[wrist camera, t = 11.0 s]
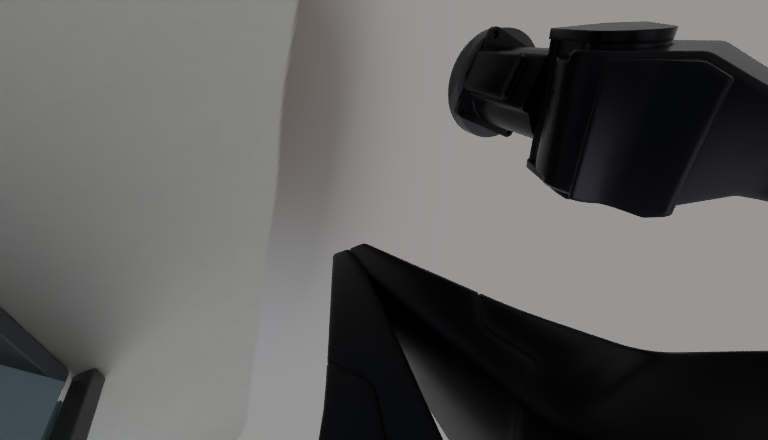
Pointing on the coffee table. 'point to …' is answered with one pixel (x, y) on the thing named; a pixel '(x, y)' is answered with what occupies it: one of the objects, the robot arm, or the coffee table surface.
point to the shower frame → (20, 351)
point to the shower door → (26, 403)
